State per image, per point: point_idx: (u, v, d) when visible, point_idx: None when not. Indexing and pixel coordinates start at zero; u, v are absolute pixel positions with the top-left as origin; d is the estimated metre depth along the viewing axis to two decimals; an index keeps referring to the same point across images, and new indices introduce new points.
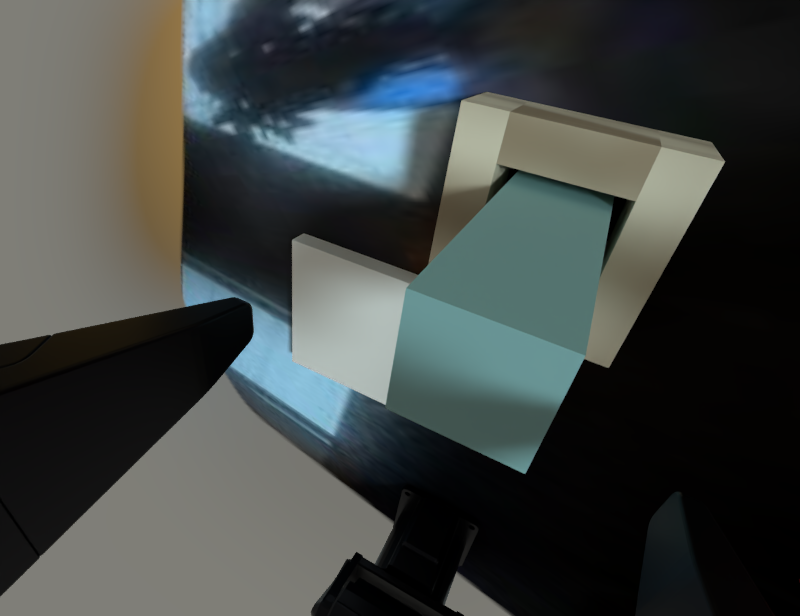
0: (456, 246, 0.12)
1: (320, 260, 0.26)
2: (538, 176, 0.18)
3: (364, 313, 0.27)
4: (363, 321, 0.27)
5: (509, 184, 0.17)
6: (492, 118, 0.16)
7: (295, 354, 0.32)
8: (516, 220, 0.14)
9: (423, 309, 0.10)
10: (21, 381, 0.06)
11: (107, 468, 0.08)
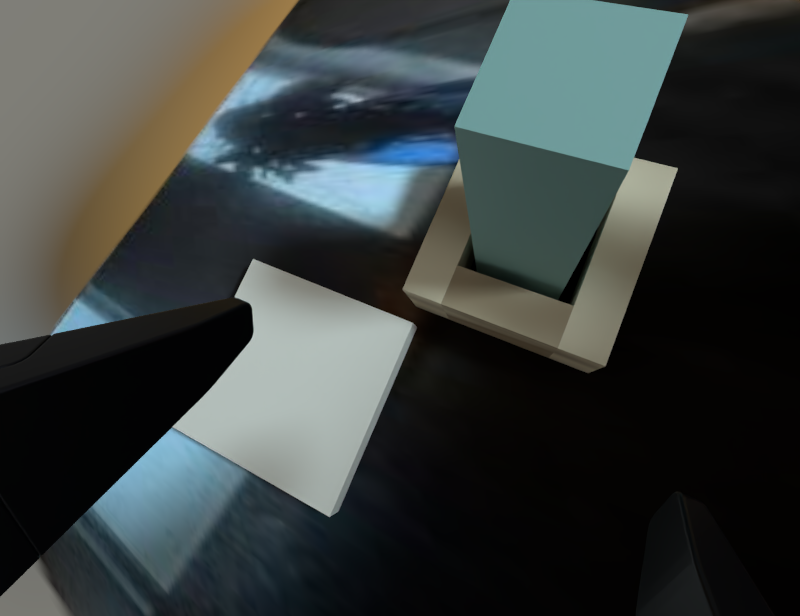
0: None
1: (277, 282, 0.24)
2: None
3: (309, 347, 0.23)
4: (304, 359, 0.23)
5: None
6: None
7: None
8: None
9: (529, 5, 0.11)
10: (21, 381, 0.06)
11: (107, 468, 0.08)
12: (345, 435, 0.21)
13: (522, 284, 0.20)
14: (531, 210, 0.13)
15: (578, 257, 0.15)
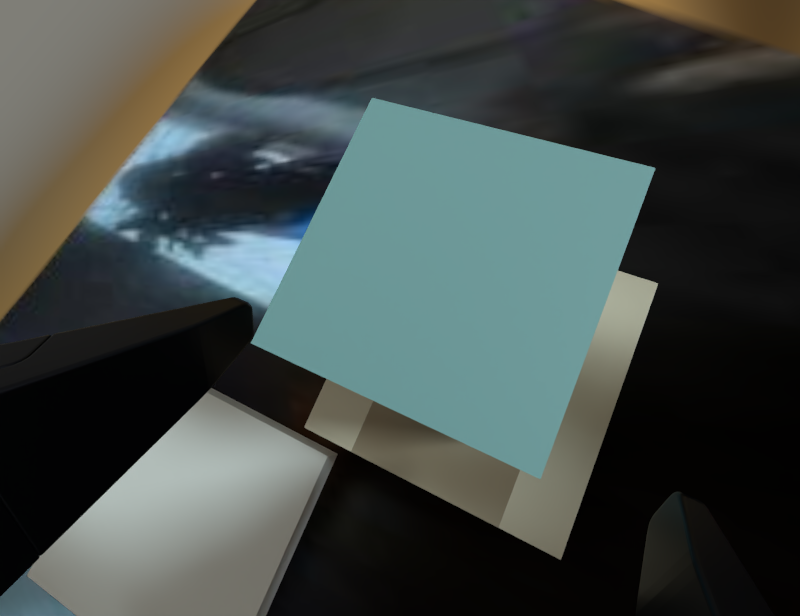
0: None
1: None
2: None
3: (199, 480, 0.18)
4: (193, 495, 0.18)
5: None
6: None
7: (40, 561, 0.19)
8: None
9: (390, 128, 0.06)
10: (21, 381, 0.06)
11: (107, 468, 0.08)
12: (235, 606, 0.16)
13: None
14: None
15: None
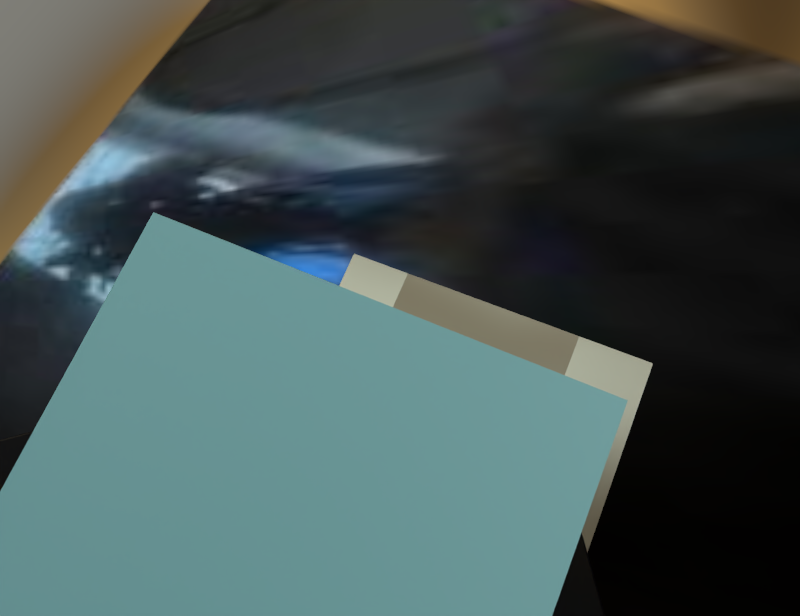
0: None
1: None
2: None
3: None
4: None
5: None
6: (386, 277, 0.13)
7: None
8: None
9: (173, 270, 0.04)
10: None
11: None
12: None
13: None
14: None
15: None
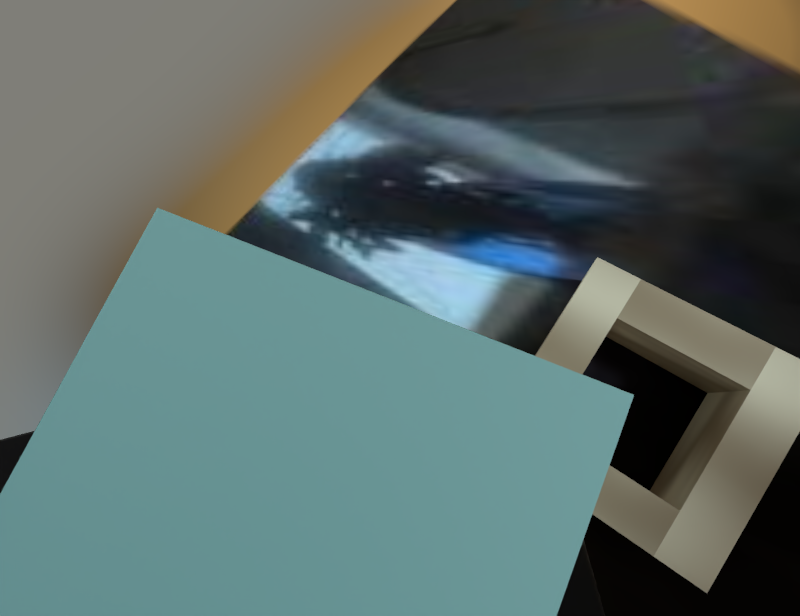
0: None
1: None
2: None
3: None
4: None
5: None
6: (622, 279, 0.18)
7: None
8: None
9: (179, 265, 0.04)
10: None
11: None
12: None
13: None
14: None
15: None
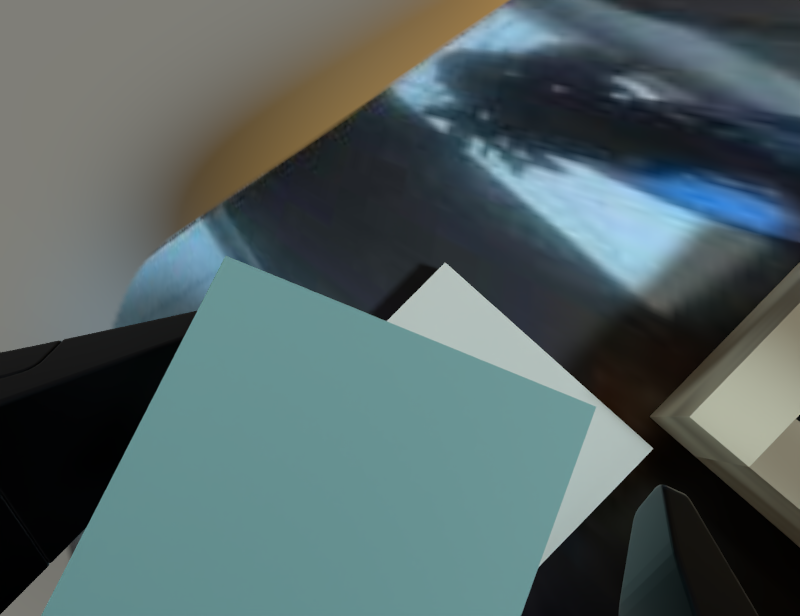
0: None
1: (470, 307, 0.17)
2: None
3: None
4: None
5: None
6: None
7: None
8: None
9: (245, 304, 0.05)
10: (33, 388, 0.06)
11: None
12: None
13: None
14: None
15: None
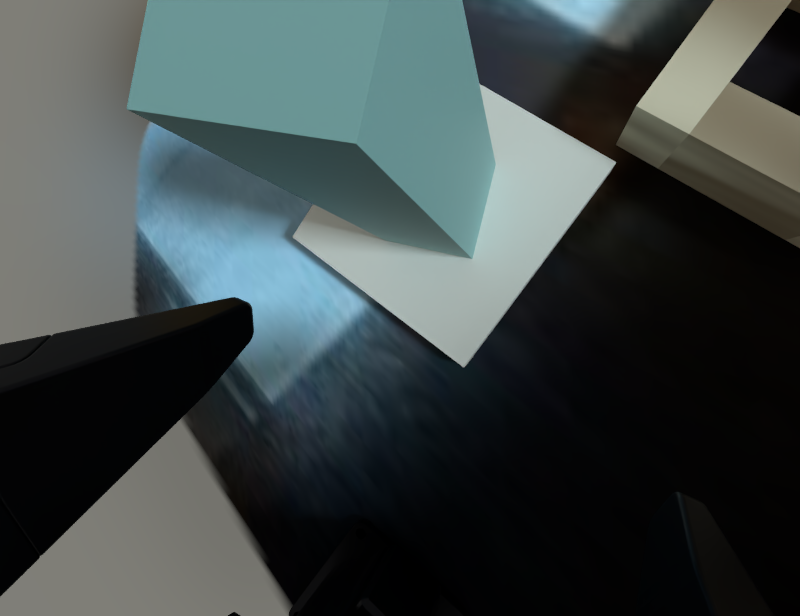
0: None
1: None
2: None
3: None
4: None
5: None
6: None
7: (304, 226, 0.20)
8: None
9: None
10: (21, 381, 0.06)
11: (107, 468, 0.08)
12: (498, 284, 0.18)
13: (423, 243, 0.17)
14: (333, 187, 0.09)
15: (436, 224, 0.11)
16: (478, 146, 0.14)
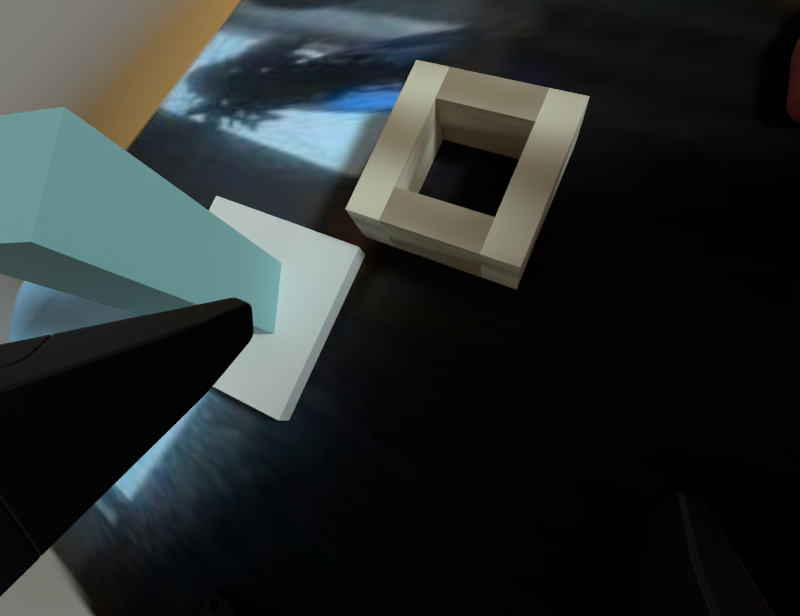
0: None
1: (238, 215, 0.26)
2: None
3: None
4: None
5: None
6: (436, 70, 0.23)
7: None
8: None
9: None
10: (21, 381, 0.06)
11: (107, 468, 0.08)
12: (295, 348, 0.23)
13: None
14: (83, 281, 0.15)
15: (180, 298, 0.17)
16: (232, 249, 0.20)
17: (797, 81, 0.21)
